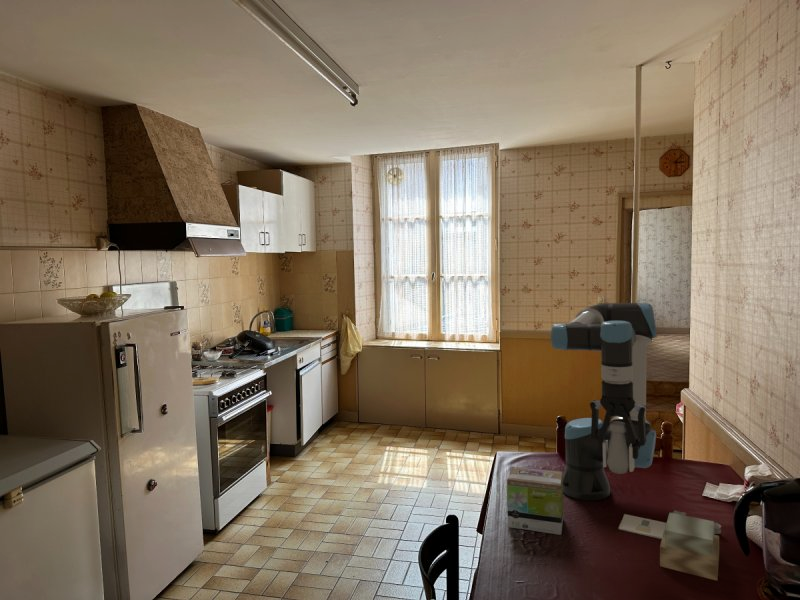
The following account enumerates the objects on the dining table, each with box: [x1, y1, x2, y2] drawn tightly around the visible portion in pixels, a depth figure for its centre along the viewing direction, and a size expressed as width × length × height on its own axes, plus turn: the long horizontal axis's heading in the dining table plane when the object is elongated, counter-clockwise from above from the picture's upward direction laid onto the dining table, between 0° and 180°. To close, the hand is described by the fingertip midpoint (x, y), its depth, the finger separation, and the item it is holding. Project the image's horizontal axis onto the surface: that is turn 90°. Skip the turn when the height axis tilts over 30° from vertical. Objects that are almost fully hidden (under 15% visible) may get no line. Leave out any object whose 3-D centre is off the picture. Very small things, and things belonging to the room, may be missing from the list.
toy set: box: [672, 509, 722, 535], centre depth 143 cm, size 12×3×4 cm, turn 45°
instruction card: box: [618, 513, 667, 540], centre depth 145 cm, size 12×9×1 cm
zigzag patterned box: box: [659, 512, 720, 581], centre depth 128 cm, size 12×12×9 cm
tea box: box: [506, 466, 564, 536], centre depth 150 cm, size 15×10×15 cm, turn 70°
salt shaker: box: [607, 421, 629, 475], centre depth 136 cm, size 6×6×13 cm
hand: (618, 467), depth 136 cm, fingers closed on salt shaker, 6 cm apart
